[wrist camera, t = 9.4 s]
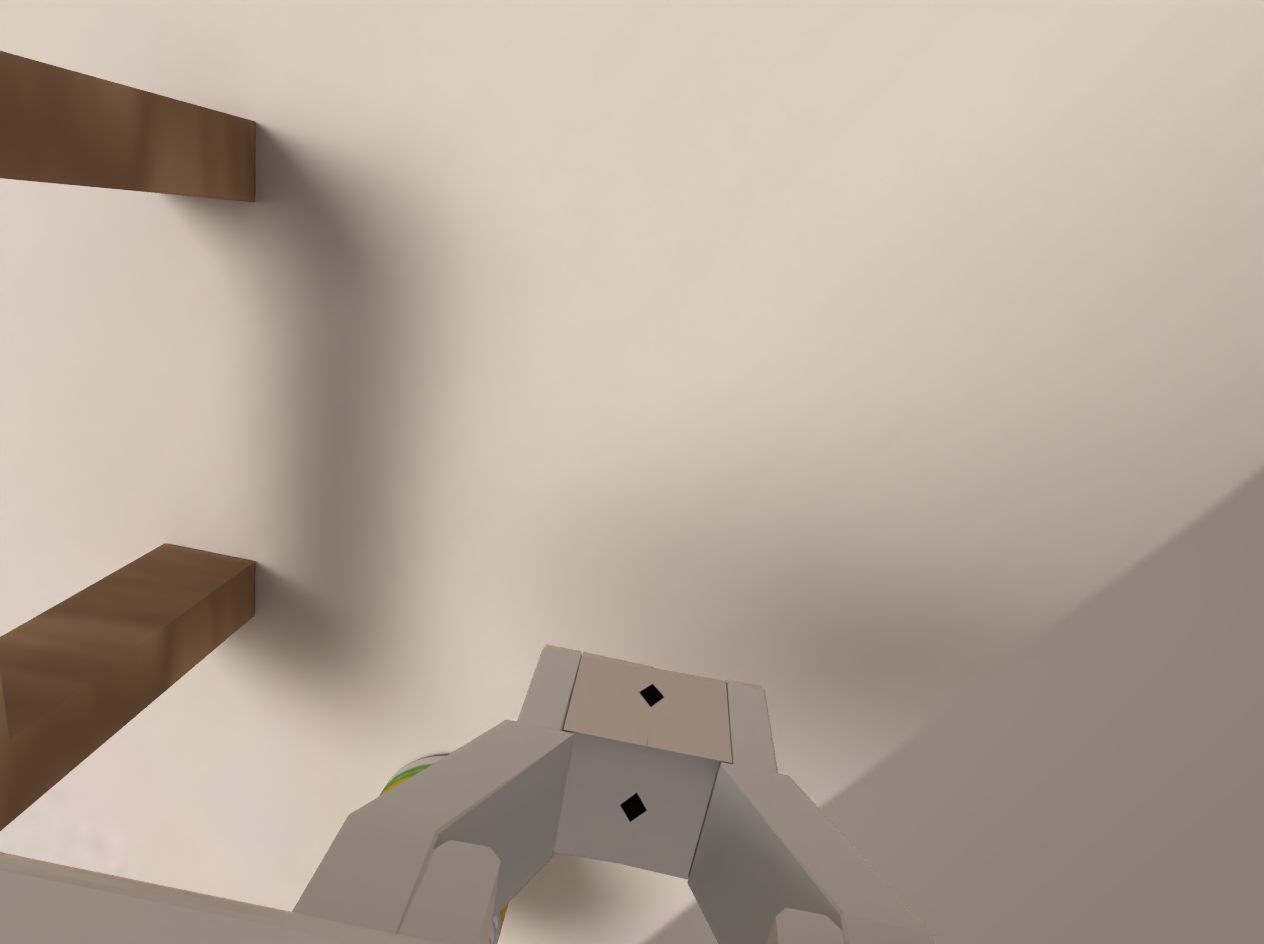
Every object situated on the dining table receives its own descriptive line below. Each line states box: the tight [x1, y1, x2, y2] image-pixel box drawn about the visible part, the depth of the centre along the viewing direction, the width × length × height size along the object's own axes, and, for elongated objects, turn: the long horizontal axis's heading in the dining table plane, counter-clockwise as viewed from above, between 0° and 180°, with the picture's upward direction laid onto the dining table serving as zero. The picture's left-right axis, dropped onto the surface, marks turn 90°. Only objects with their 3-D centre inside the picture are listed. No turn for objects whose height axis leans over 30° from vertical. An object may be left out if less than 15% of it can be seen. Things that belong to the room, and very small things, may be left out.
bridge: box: [0, 51, 255, 831], centre depth 16 cm, size 15×3×10 cm, turn 170°
